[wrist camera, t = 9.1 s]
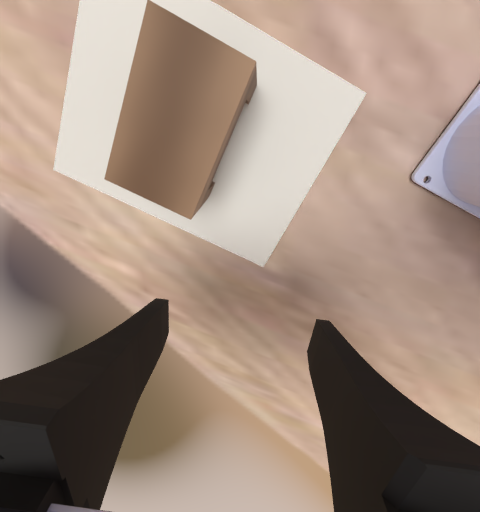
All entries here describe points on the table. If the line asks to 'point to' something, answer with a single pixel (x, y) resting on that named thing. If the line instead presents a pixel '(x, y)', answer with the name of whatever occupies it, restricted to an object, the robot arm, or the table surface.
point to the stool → (178, 112)
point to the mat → (242, 139)
